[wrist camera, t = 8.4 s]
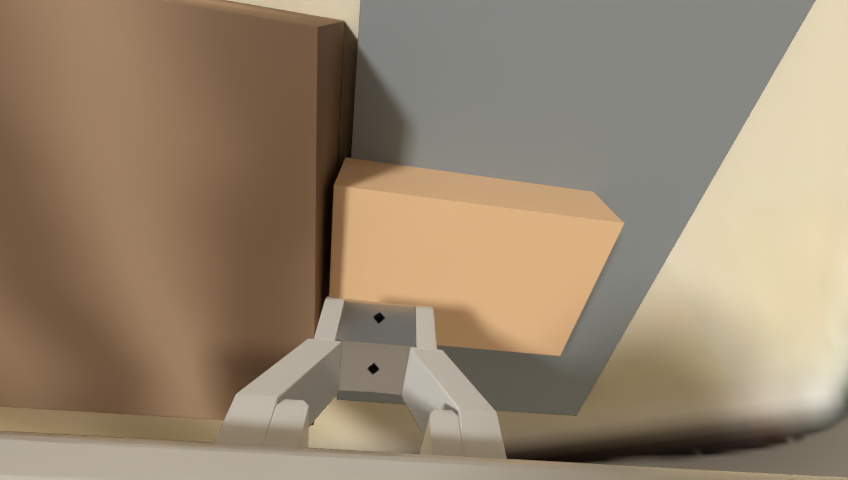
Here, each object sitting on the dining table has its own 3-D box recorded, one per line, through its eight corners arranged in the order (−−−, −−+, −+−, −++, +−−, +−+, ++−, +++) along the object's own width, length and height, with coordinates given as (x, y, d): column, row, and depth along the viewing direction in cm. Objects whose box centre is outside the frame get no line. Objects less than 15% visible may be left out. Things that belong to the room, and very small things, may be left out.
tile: (337, 293, 16) (327, 335, 14) (345, 157, 13) (333, 185, 11) (542, 314, 17) (560, 356, 15) (592, 191, 14) (624, 223, 12)
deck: (-38, 318, 17) (-150, 397, 14) (-287, -89, 10) (-657, -139, 6) (330, 348, 19) (313, 425, 15) (344, 20, 12) (317, 26, 8)
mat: (338, 389, 20) (336, 399, 20) (369, -106, 10) (366, -112, 10) (572, 406, 22) (576, 415, 21) (805, -15, 11) (824, -16, 11)
